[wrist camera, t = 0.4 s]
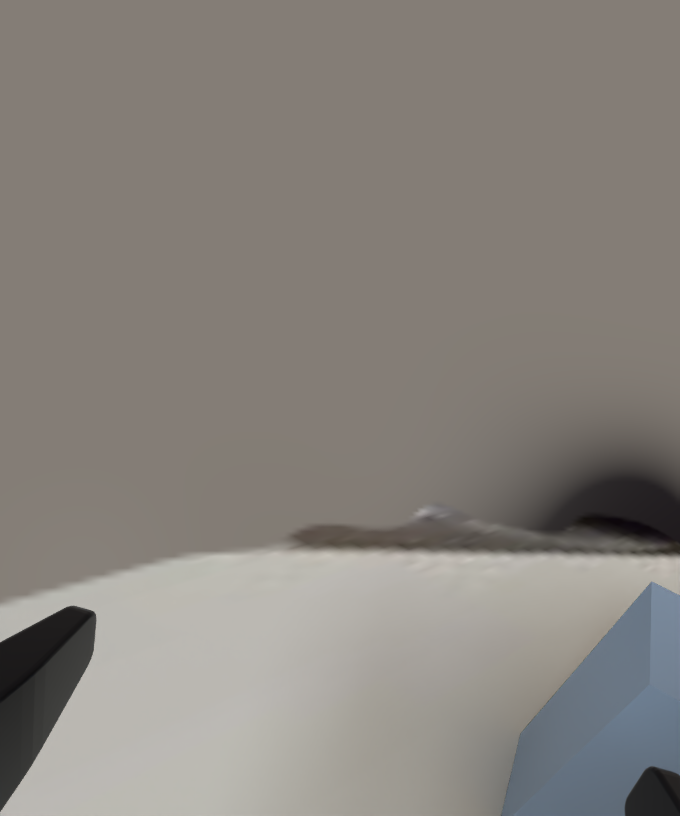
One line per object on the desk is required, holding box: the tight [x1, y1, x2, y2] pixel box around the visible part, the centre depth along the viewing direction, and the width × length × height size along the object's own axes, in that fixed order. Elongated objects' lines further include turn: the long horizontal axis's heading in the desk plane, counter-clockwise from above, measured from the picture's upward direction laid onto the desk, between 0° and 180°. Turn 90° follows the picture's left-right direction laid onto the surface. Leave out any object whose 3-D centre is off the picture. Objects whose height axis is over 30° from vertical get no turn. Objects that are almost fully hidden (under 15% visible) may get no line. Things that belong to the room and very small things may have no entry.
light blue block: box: [501, 582, 680, 816], centre depth 19 cm, size 4×4×12 cm
